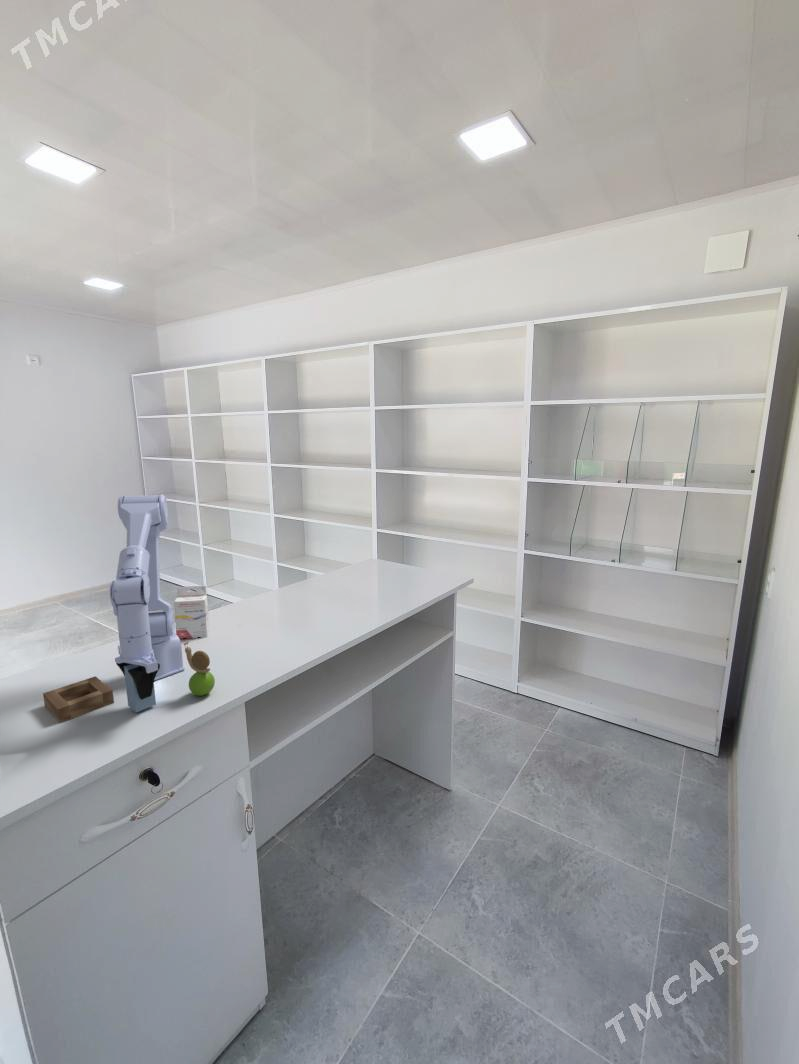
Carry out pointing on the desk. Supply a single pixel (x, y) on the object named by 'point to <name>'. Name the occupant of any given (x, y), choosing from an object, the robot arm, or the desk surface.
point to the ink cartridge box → (191, 612)
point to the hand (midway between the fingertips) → (140, 693)
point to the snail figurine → (199, 672)
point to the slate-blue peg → (136, 693)
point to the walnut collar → (78, 698)
